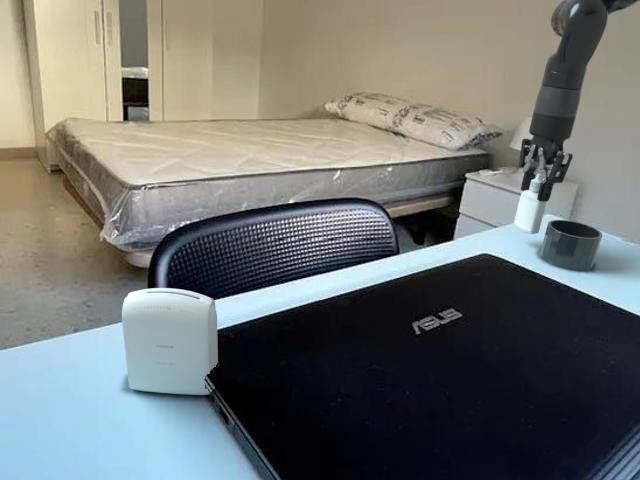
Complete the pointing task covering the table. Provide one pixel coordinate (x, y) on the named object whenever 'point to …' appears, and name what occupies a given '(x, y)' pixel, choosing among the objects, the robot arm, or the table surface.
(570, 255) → the desk tube
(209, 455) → the table surface
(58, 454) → the table surface
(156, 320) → the photo printer
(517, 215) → the eye dropper bottle
